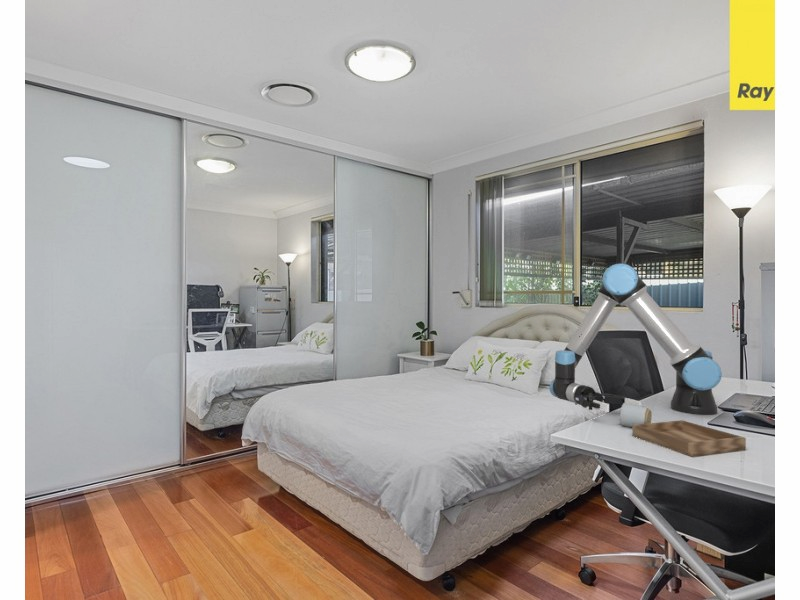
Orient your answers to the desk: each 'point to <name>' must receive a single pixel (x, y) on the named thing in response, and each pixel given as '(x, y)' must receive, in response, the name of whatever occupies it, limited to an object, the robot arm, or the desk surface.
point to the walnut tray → (689, 438)
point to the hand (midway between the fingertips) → (624, 407)
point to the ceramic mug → (634, 415)
